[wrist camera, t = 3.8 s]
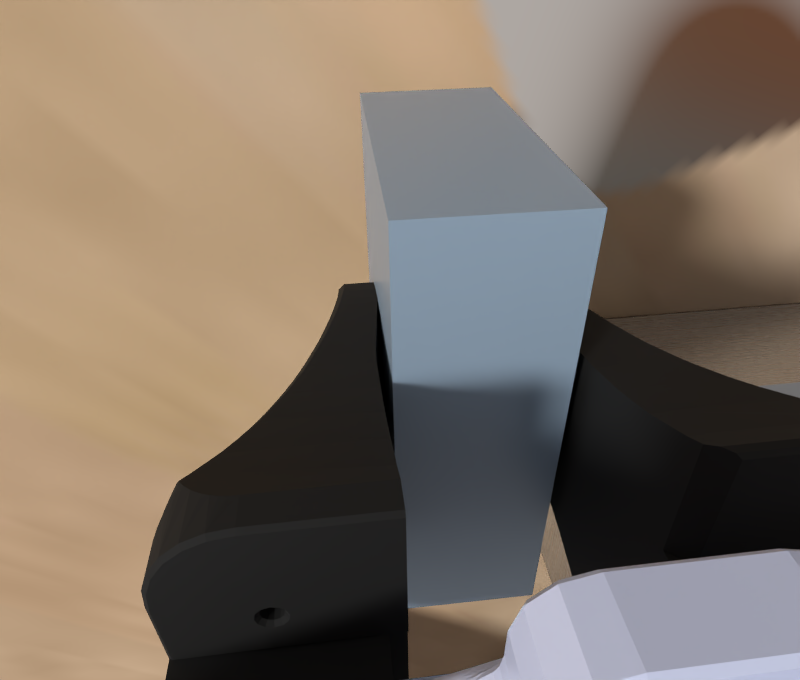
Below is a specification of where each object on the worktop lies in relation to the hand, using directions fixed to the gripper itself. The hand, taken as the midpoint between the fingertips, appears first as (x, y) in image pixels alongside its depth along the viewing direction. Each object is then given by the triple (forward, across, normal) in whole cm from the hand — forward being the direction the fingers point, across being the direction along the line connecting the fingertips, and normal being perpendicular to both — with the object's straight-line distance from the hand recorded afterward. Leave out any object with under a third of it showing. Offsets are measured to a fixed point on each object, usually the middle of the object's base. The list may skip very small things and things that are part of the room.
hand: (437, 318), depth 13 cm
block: (+2, 0, 0) cm, 2 cm away
